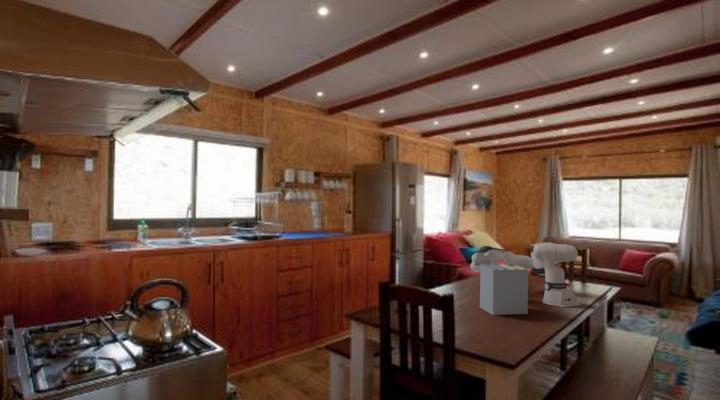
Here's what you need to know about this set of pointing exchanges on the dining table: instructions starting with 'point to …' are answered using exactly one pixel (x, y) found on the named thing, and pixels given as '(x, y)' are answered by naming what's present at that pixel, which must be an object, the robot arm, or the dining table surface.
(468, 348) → the dining table surface
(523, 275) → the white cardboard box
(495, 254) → the gauge bar
